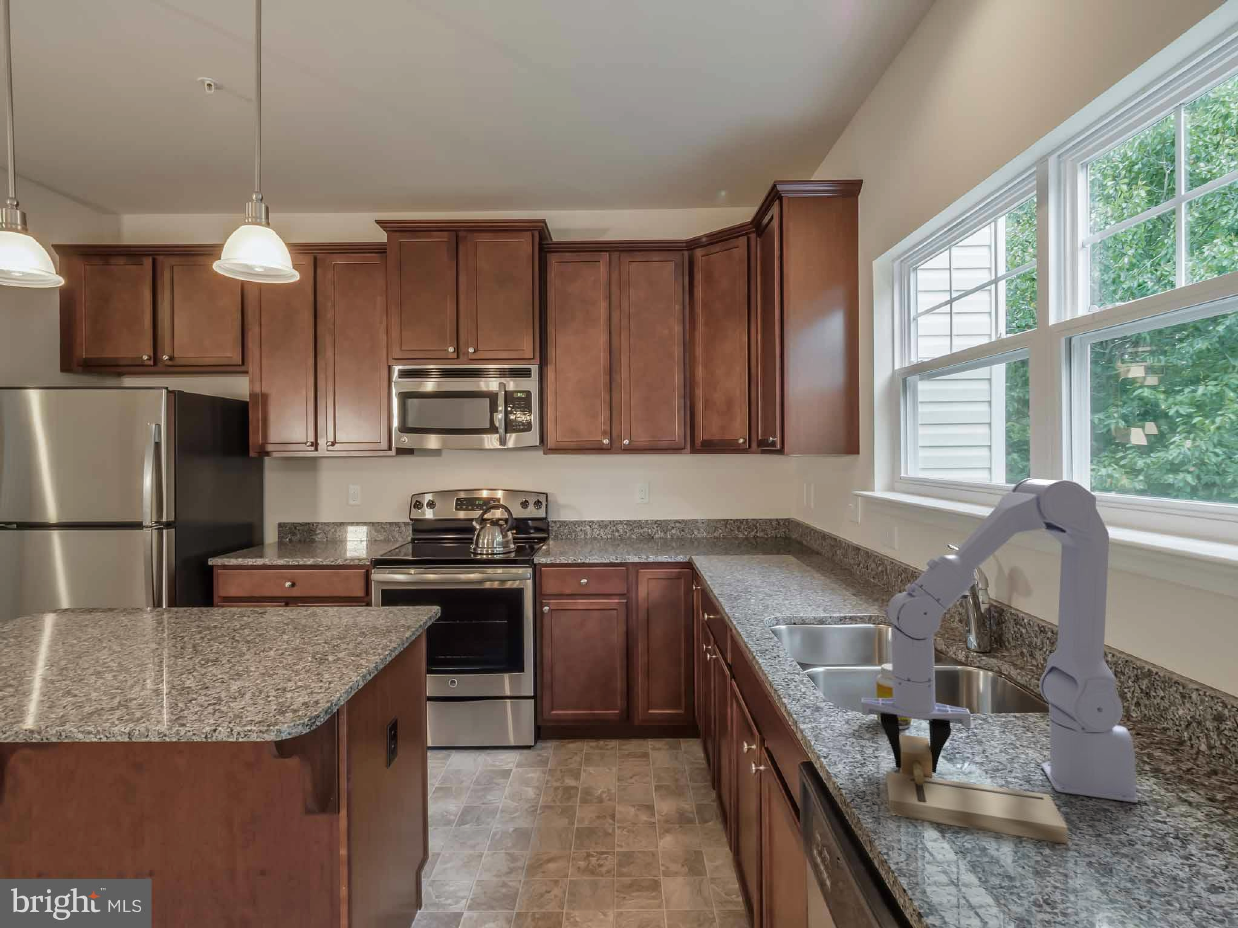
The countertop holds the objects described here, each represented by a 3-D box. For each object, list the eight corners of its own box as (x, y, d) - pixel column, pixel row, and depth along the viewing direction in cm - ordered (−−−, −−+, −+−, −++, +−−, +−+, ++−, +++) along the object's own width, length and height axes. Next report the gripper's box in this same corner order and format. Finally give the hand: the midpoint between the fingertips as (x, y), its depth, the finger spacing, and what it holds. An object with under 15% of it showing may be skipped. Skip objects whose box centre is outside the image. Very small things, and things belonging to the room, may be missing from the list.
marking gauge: (928, 770, 96) (927, 737, 96) (936, 808, 85) (935, 771, 85) (899, 766, 97) (898, 734, 97) (904, 803, 87) (903, 767, 87)
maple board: (1049, 809, 85) (1049, 793, 85) (1067, 843, 77) (1067, 826, 77) (887, 785, 92) (887, 770, 92) (889, 814, 84) (889, 798, 84)
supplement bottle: (899, 733, 109) (897, 674, 109) (870, 722, 113) (869, 665, 113) (917, 725, 112) (916, 667, 112) (889, 714, 116) (888, 659, 116)
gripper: (964, 671, 95) (966, 761, 95) (860, 662, 100) (862, 748, 100) (972, 687, 88) (974, 784, 88) (860, 677, 93) (862, 769, 93)
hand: (915, 767), depth 94 cm, fingers closed on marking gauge, 4 cm apart
